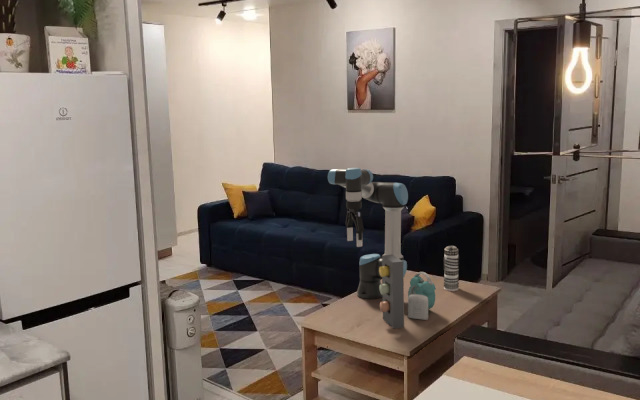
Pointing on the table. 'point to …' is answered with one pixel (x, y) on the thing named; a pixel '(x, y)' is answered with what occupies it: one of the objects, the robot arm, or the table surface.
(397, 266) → the button panel
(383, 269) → the mustard button
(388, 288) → the sage button
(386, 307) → the terracotta button
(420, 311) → the photo printer
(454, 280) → the leaning tower model
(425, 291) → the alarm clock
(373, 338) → the table surface
